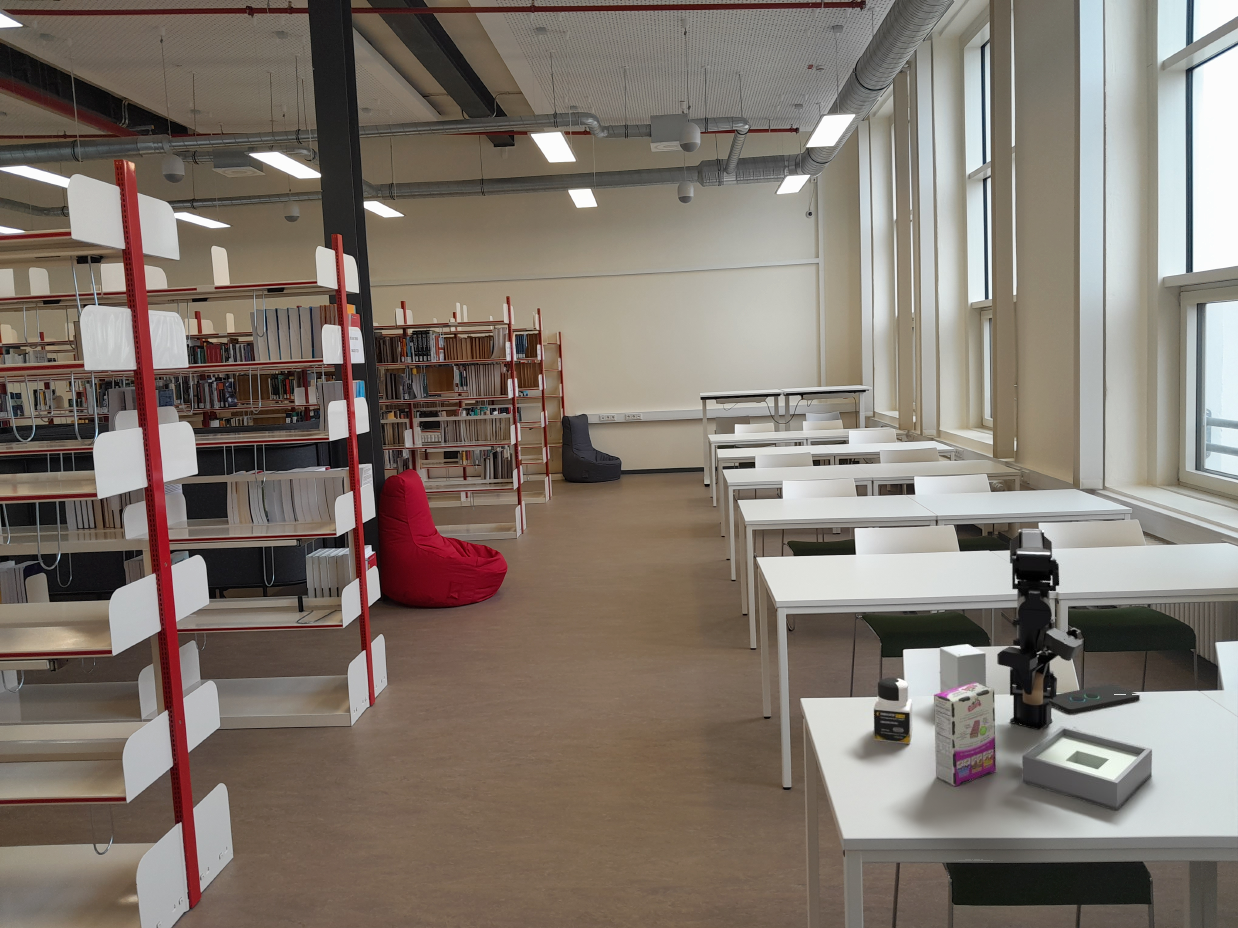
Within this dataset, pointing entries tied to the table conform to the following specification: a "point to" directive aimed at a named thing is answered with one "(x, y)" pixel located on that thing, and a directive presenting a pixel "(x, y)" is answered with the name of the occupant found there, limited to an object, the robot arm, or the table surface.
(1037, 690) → the peg
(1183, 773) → the table surface
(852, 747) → the table surface
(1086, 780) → the box
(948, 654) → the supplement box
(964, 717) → the candy bar box
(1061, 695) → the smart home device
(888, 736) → the medicine bottle
